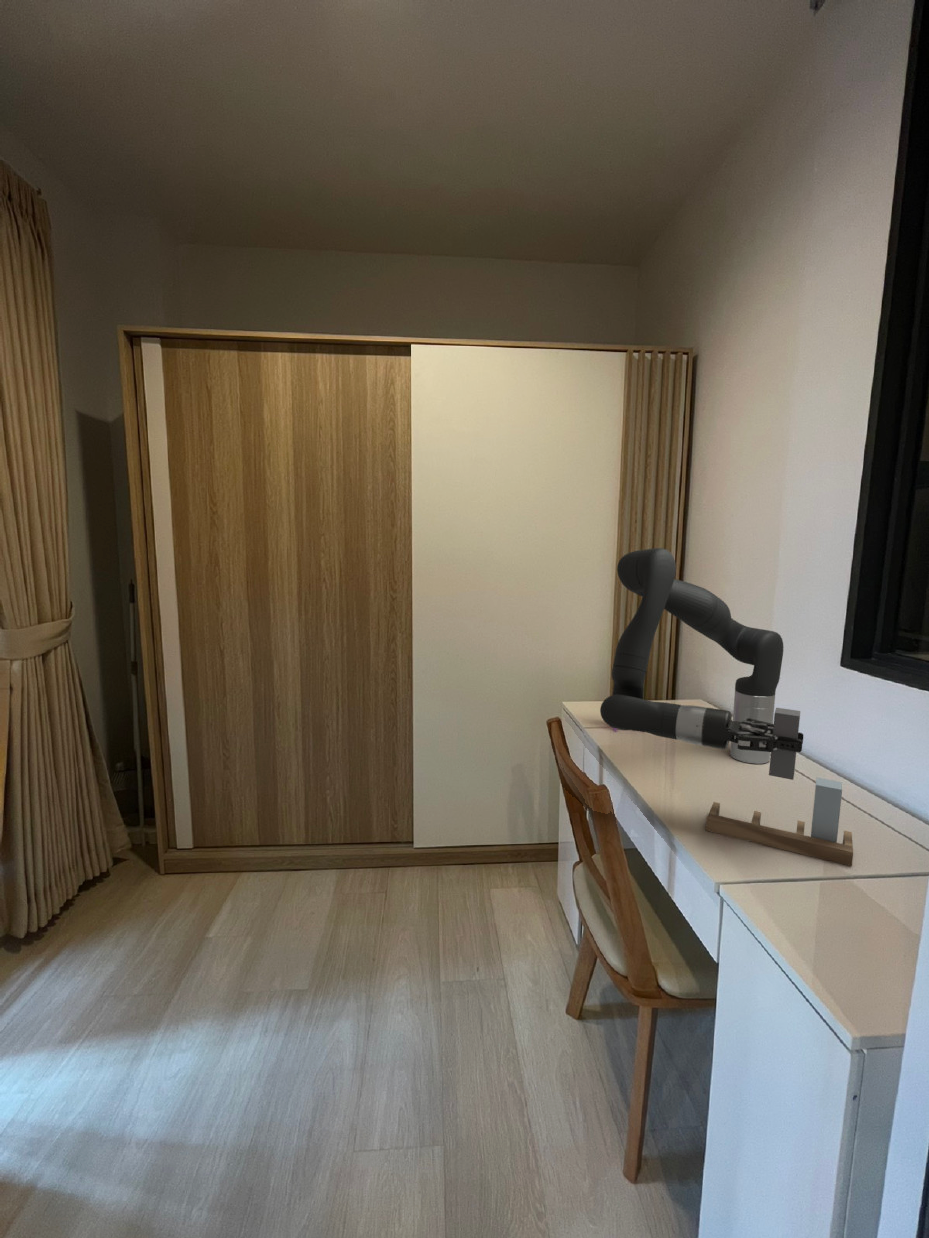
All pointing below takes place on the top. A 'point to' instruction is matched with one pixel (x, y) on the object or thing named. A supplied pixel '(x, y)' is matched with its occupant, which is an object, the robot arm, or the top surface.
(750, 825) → the cable comb
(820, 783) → the slate plug
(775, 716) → the grey tall rectangular block
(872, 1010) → the top surface
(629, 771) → the top surface
